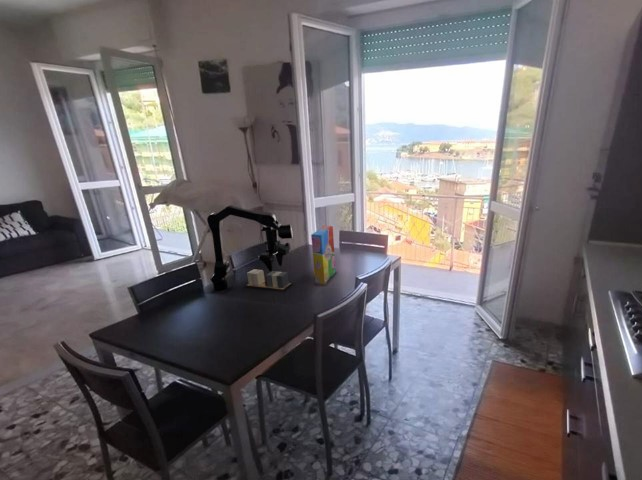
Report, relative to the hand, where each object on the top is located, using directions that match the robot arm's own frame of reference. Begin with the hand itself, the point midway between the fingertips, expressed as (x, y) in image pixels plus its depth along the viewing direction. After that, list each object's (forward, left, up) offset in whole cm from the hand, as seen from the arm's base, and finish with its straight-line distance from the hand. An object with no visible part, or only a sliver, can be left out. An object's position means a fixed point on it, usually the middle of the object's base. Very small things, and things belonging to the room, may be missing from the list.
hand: (275, 268), depth 183 cm
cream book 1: (0, +14, -9) cm, 17 cm away
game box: (+18, -20, -10) cm, 28 cm away
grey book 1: (0, +3, -9) cm, 10 cm away
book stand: (0, +5, -10) cm, 12 cm away
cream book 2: (0, +11, -9) cm, 15 cm away
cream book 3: (0, 0, -9) cm, 9 cm away
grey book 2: (0, -3, -9) cm, 10 cm away
